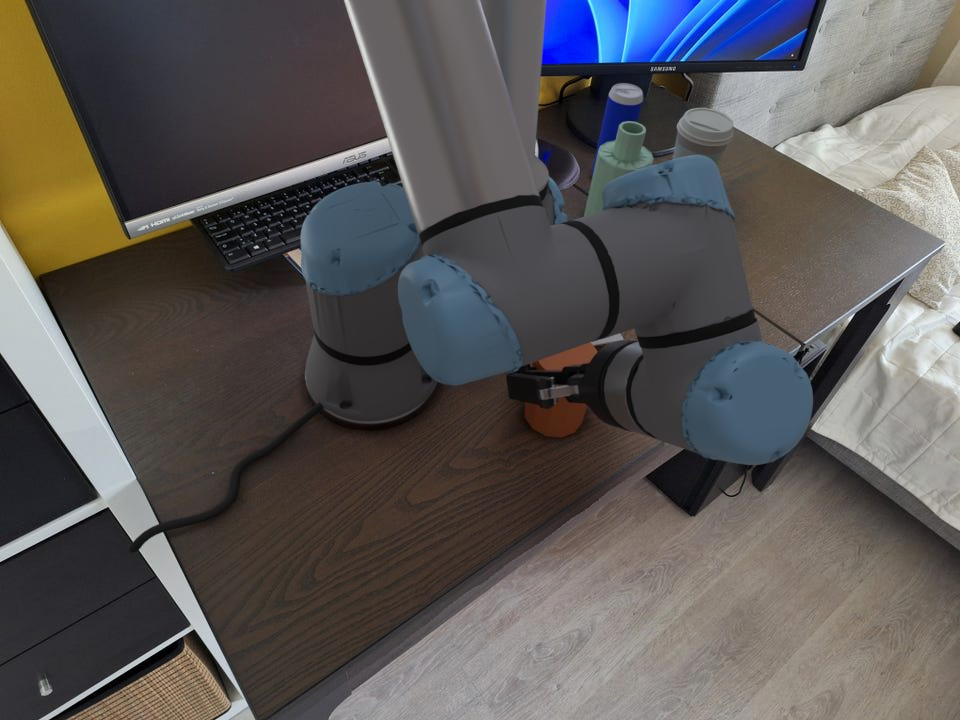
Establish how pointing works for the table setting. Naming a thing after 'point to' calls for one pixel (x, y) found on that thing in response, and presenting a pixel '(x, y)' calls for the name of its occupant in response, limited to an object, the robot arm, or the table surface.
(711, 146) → the coffee cup
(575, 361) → the cylinder
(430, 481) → the table surface
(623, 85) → the beverage can
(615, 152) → the bottle
